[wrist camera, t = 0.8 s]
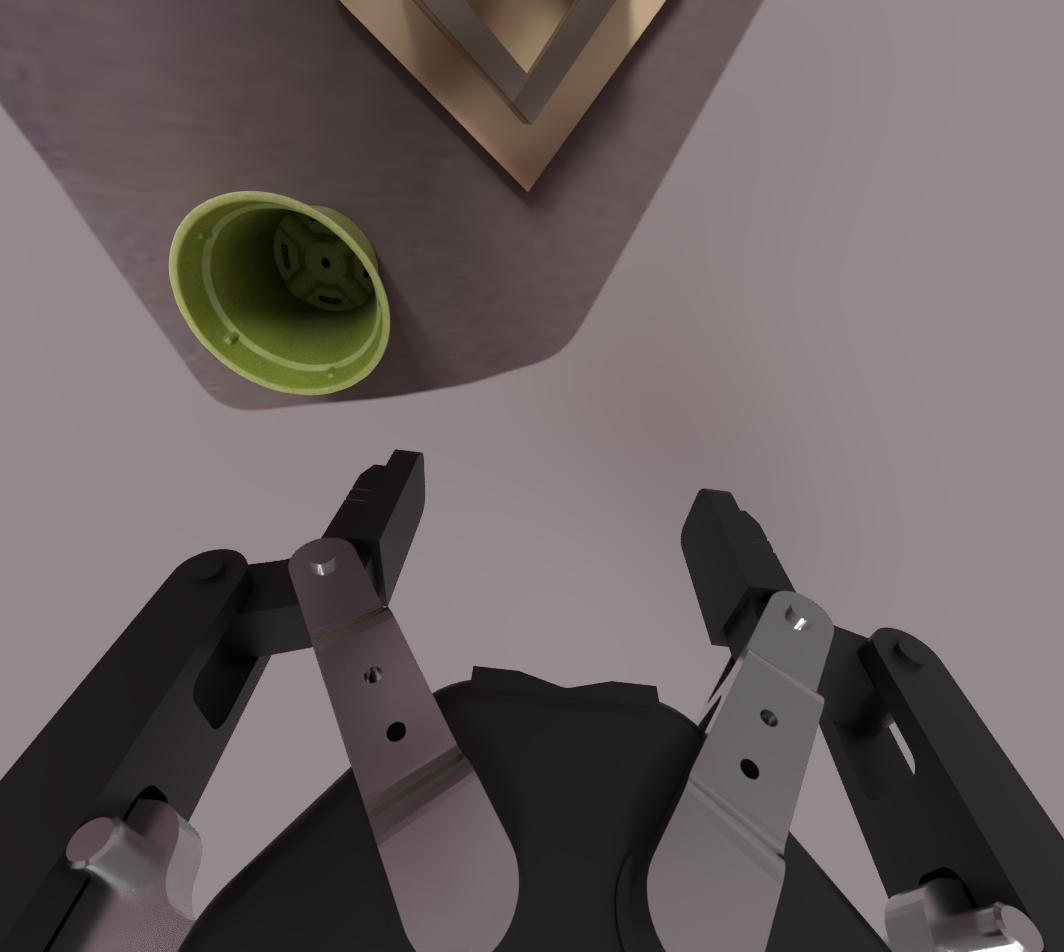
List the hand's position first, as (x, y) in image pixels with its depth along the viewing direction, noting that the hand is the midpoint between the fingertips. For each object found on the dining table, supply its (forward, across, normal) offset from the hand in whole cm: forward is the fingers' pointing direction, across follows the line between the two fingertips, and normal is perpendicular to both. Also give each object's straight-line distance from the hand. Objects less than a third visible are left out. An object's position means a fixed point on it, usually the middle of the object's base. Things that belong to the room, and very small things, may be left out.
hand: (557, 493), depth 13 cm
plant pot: (+20, +15, -1) cm, 25 cm away
